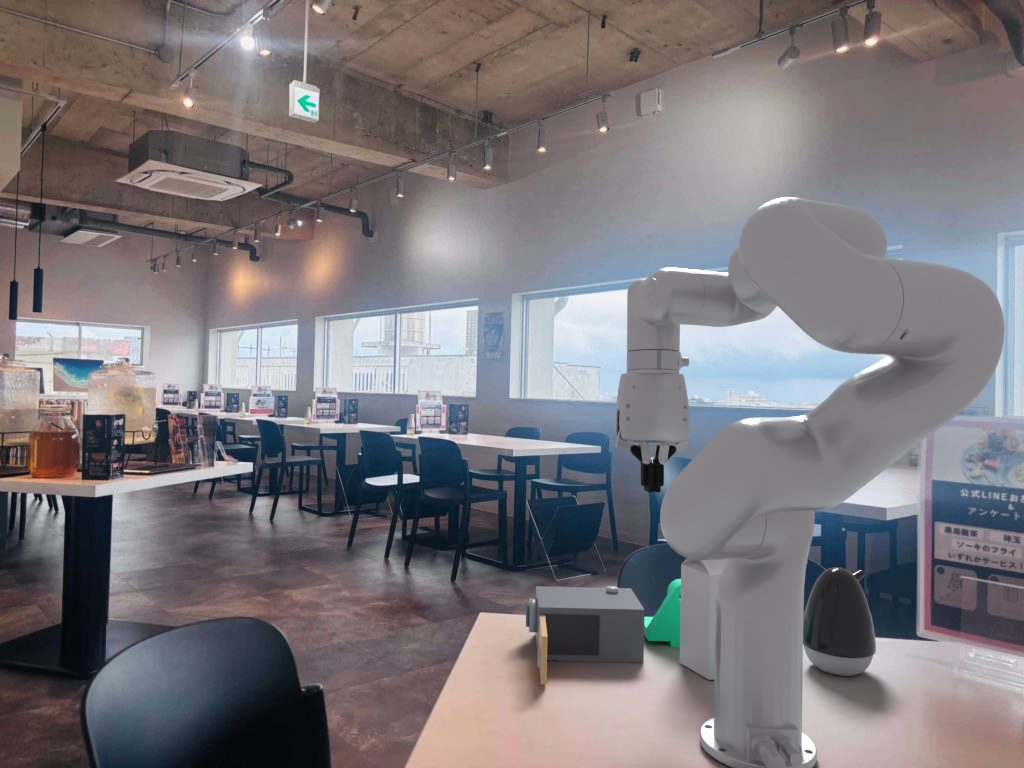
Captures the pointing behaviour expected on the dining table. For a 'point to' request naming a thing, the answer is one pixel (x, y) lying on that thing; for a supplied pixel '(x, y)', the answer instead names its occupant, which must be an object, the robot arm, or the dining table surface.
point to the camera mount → (666, 618)
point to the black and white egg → (839, 624)
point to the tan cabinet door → (542, 649)
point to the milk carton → (699, 614)
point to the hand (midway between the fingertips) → (652, 491)
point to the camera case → (589, 623)
